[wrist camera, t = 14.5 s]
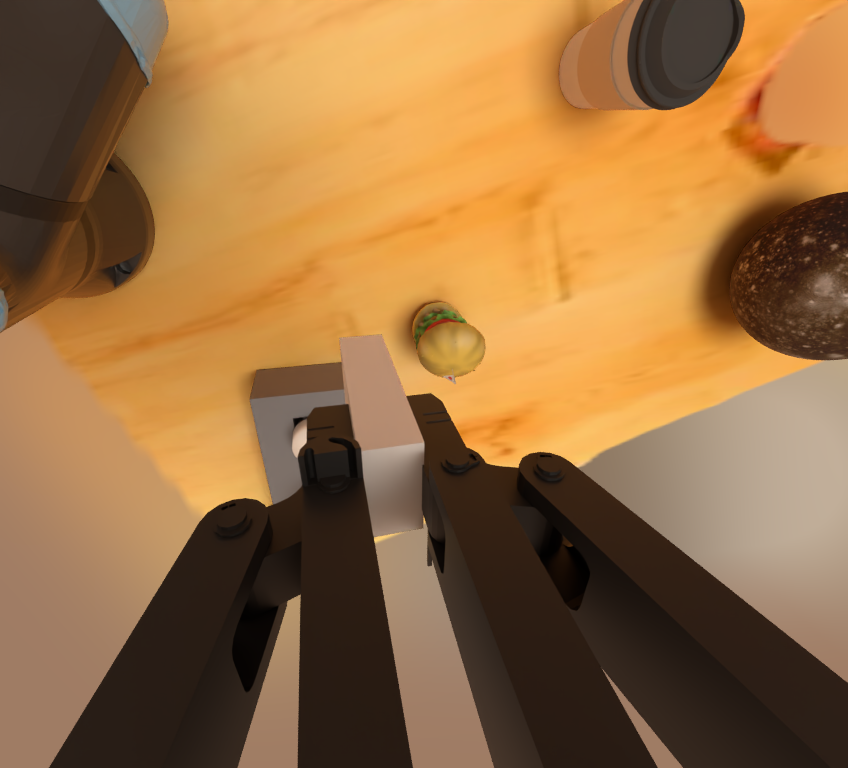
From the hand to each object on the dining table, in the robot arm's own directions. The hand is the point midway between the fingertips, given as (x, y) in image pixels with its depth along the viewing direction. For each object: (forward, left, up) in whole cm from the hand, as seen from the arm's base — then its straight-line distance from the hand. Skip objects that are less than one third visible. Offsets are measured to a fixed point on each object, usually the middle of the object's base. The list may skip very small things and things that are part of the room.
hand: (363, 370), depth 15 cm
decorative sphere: (+60, -6, -35) cm, 70 cm away
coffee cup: (+28, +15, -35) cm, 47 cm away
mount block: (-4, -29, -34) cm, 45 cm away
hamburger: (+12, -12, -35) cm, 39 cm away
